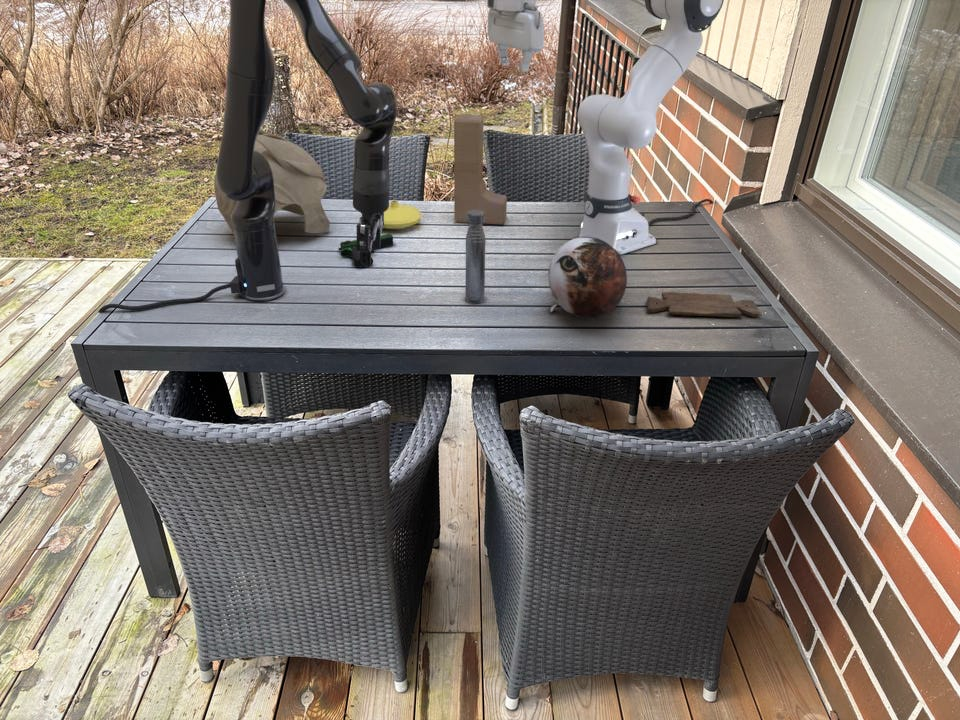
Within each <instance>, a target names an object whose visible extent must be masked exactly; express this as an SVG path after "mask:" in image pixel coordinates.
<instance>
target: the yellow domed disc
mask: <svg viewBox="0 0 960 720" xmlns="http://www.w3.org/2000/svg"><path fill="white" fill-rule="evenodd" d="M422 217H423V215H422V212H421V211H420V210H419V209H418V208H417V207H414V206H411V205H407V204H399V201H398V200H396V199H395V200H390V204H389V208H388V209H387V210H386V211H385V212H384V226H382V229H387V230H402V229H407V228H410V227H412V226H413V225H416V224H418V223H419V222H420V221H421V219H422Z"/></svg>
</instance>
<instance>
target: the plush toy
mask: <svg viewBox="0 0 960 720" xmlns="http://www.w3.org/2000/svg"><path fill="white" fill-rule="evenodd" d="M547 274H548V275H547V276H548V277H547V279H548V286H549V289H550V292H551V294H552V296H553V298H554V300H555V301H556V302H557V303H555V304H554V305H552V306H551V307H550V309H549V310H550V313H552V312H553V311H554V310H555V309H556V307H557V306H558V305H559V306H560V307H561V308H562V309H563V310H565V311H566V312H567V313H569V314H570V315H572V316H575V317H578V318H582V319H597V318H601V317H604V316H606V315H607V314H609V313H610V312H612V311H613V310H615V309H616V308H617V306H618V305H619V304H620V303H621V301H622V300H623V297H624V295H625V292H626V289H627V283H628V273H627V269H626V265H625V262H624V260H623V257H622V256H621V254H619V253H618V252H617V251H616V250H615V249H614V248H613V247H612V246H611V245H610V244H608V243H607V242H605V241H604V240H601V239H598V238H594V237H579V236H578V237H575V238H572V239H570V240H567V241H566V242H564V243H563V244H562V245H561V246H560V247H559V248H558V249H557V250H556V251H555V253H554V254H553V255H552V257H551V260H550V263H549V267H548V272H547Z"/></svg>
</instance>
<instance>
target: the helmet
mask: <svg viewBox="0 0 960 720" xmlns="http://www.w3.org/2000/svg"><path fill="white" fill-rule="evenodd" d="M254 150H255V151H258V152H260V153H261V154H262V155H263V156H264V157H265V158H266V159H267V160H268V162H269V164H270V167H271V169H272V174H273V180H274V190H275V202H276V209H275V213H274V215H275V214H276V213H277V212H278V211H279V210H283V211H285V212H289V213H293V214H295V215H298V216H303V221H304V232H305V233H310V234H311V233H313V234H319V233H330V226H331V221H330V220H329V218H328V216H327V214H326V212H325V209H324V207H323V204H322V199H323V198H324V196H325V195H326V193H327V190H328V185H327V182H326V180H325V175H324V173H323V172H324V171H323V169H322V167H321V166H320V165H319V164H318V163H317V161H316V160H315V159H314V157H313V156H312V155H311V154H310V153H309V152H308V151H306V150H305V149H304V148H302V147H301V146H299V145H298V144H296V143H293V142H291V141H290V140H289V139H287V138H285V137H283V136H281V135H277V134H274V133H270V132H268V131H267V130H264V129H261V128H260V130H259V133H258V135H257V138H256V142H255V146H254ZM213 187H214V195H215V200H216V206H217V210H218V211H219V213H220V214H221V216H222V218H223V219H224V220H225V222H226V224H227V226H228V227H229V229H230V230H231V232H232V233H233V227H232V222H231V214H232V212H233V210H234V209H235V207H236V205H237V203H238V201H234V200H231V199H229V198H227V197H226V196H225V195H224V194H223V193H222V191H221V190H220V188H219V186H218V182H217V178H216V173H215V174H214V180H213ZM233 235H234V233H233Z"/></svg>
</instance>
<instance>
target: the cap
mask: <svg viewBox="0 0 960 720" xmlns="http://www.w3.org/2000/svg"><path fill="white" fill-rule="evenodd" d="M467 222H468V224H469V225H470V224H475V225H477V224H482V225H483V223H484V211H482V210H470V211H468V212H467ZM467 222H466V223H467Z"/></svg>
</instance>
